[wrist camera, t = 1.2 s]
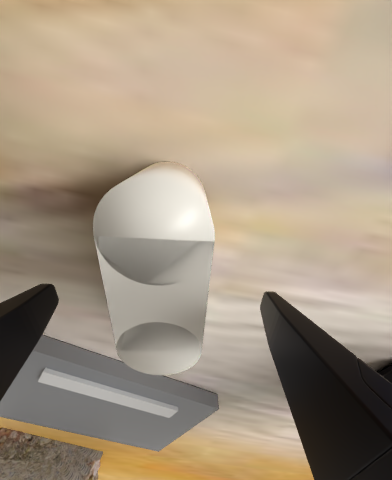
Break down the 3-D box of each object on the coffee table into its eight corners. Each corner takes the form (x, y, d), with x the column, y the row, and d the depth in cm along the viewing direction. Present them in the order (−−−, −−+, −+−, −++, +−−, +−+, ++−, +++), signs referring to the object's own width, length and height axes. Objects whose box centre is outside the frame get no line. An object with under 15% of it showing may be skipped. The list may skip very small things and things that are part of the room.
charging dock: (217, 394, 20) (219, 412, 18) (160, 437, 24) (158, 455, 23) (13, 325, 15) (-5, 343, 13) (-11, 396, 19) (-27, 415, 18)
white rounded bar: (209, 164, 10) (221, 180, 6) (194, 332, 15) (195, 400, 11) (128, 158, 9) (80, 172, 5) (143, 330, 15) (126, 399, 11)
